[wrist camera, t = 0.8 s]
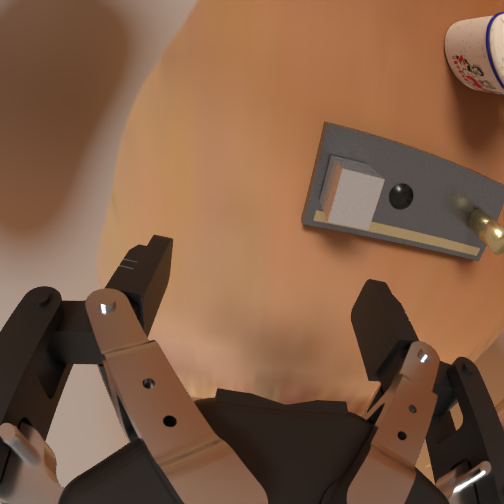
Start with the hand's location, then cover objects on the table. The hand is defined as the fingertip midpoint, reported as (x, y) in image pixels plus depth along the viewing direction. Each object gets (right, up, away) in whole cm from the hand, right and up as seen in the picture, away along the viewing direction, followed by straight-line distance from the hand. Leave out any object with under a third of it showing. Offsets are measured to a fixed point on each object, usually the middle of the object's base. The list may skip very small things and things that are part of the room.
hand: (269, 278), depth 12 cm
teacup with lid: (+25, +23, +11) cm, 36 cm away
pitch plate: (+18, +7, +20) cm, 28 cm away
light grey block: (+9, +8, +18) cm, 21 cm away
